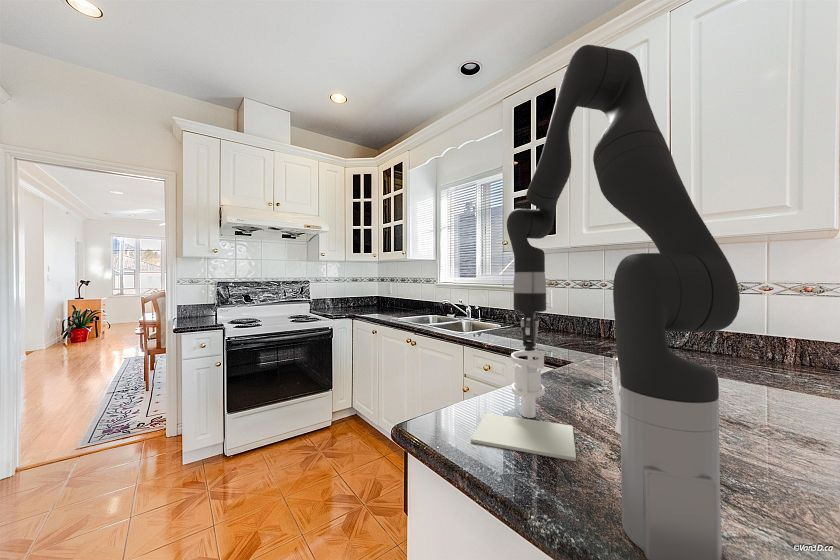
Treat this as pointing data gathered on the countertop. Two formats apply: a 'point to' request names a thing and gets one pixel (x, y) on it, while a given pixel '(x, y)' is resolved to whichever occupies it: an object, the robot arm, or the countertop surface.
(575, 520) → the countertop surface
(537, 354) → the white stacked pillar
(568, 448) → the mat
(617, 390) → the beer glass
